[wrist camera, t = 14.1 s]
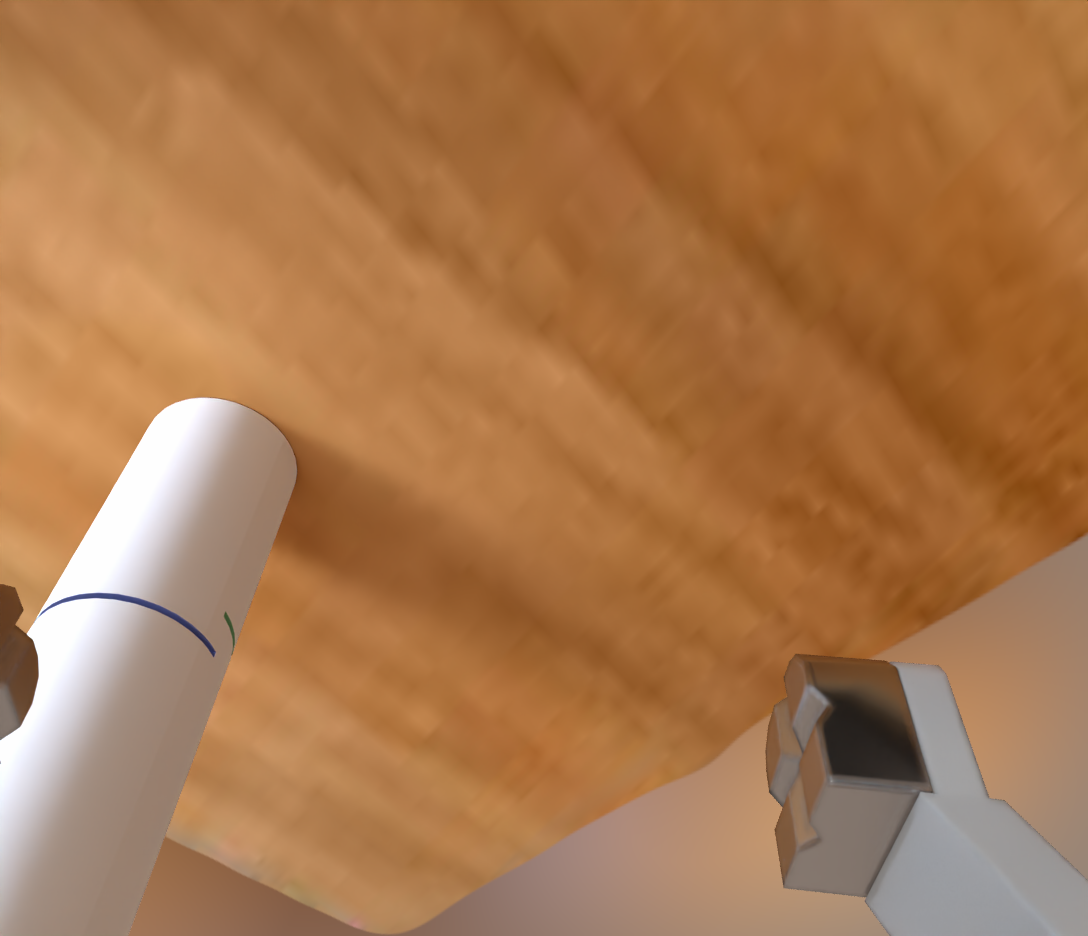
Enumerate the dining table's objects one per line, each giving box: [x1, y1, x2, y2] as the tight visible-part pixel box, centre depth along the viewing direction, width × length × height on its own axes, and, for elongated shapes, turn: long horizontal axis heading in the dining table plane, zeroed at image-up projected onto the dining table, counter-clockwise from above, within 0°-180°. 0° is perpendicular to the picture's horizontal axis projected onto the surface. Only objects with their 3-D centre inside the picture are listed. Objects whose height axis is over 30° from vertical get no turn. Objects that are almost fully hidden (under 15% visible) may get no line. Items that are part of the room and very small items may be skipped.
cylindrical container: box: [0, 398, 297, 936], centre depth 40 cm, size 7×7×25 cm
